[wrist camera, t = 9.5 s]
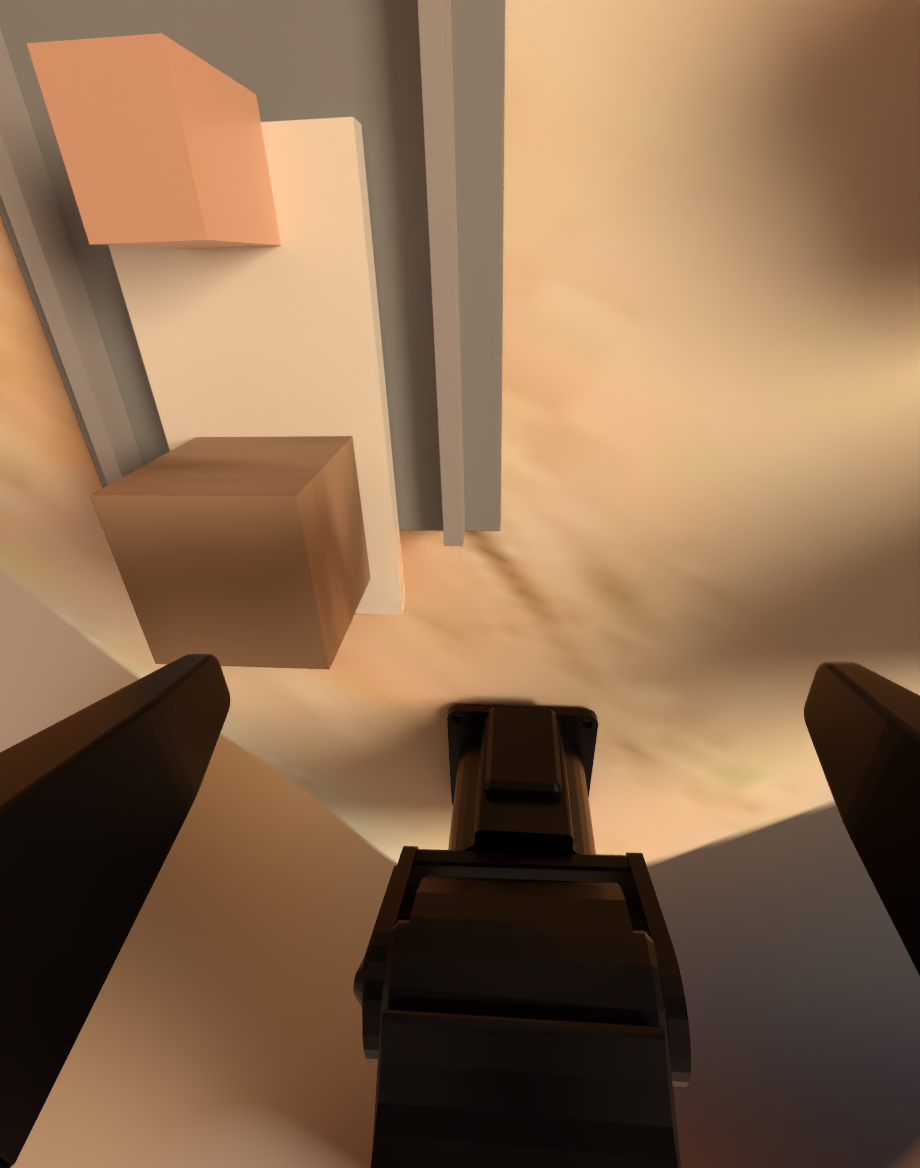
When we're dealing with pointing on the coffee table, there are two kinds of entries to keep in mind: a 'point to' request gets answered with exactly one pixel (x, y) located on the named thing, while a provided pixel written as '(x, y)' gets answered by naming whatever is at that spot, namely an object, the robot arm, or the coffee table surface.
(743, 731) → the coffee table surface
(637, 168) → the coffee table surface
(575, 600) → the coffee table surface
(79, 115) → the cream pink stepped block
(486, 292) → the lane board
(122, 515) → the walnut block
